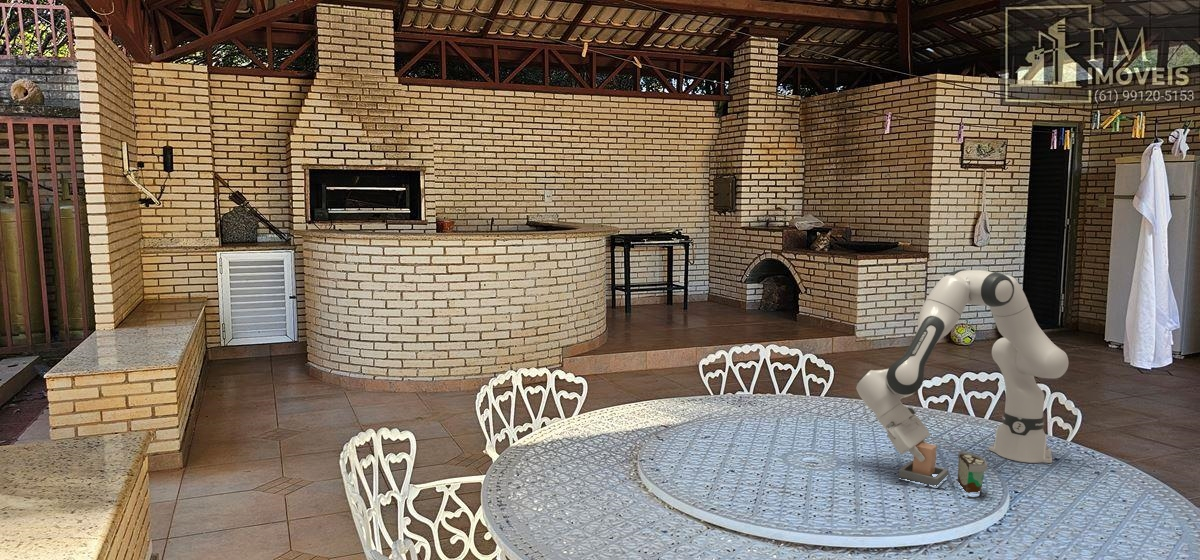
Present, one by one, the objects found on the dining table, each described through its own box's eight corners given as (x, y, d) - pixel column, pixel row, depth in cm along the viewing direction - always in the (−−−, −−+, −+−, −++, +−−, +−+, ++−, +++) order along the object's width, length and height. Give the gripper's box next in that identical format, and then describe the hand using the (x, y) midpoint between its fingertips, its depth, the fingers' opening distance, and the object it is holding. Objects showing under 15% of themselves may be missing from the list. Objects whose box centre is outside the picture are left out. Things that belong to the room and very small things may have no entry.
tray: (910, 470, 238) (910, 461, 238) (947, 479, 231) (948, 469, 231) (898, 479, 230) (898, 469, 230) (936, 489, 223) (937, 479, 223)
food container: (990, 501, 215) (993, 467, 214) (967, 499, 216) (969, 464, 215) (978, 485, 227) (981, 453, 226) (955, 483, 228) (958, 451, 227)
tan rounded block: (917, 467, 234) (919, 441, 233) (934, 471, 231) (936, 445, 230) (912, 471, 230) (914, 445, 229) (929, 475, 227) (931, 449, 226)
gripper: (892, 420, 225) (924, 460, 220) (914, 407, 241) (945, 444, 236) (876, 432, 228) (907, 472, 223) (899, 418, 244) (929, 455, 239)
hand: (927, 457), depth 230 cm, fingers closed on tan rounded block, 5 cm apart
